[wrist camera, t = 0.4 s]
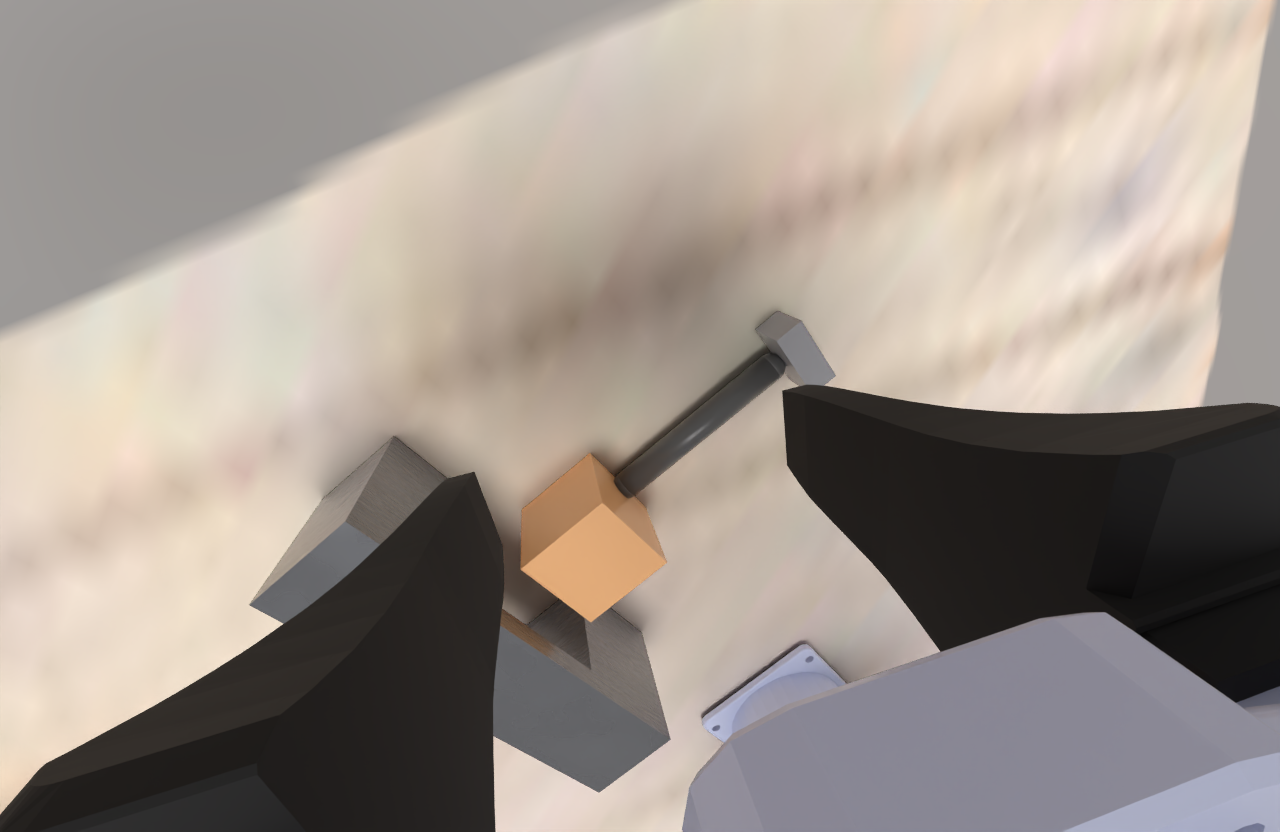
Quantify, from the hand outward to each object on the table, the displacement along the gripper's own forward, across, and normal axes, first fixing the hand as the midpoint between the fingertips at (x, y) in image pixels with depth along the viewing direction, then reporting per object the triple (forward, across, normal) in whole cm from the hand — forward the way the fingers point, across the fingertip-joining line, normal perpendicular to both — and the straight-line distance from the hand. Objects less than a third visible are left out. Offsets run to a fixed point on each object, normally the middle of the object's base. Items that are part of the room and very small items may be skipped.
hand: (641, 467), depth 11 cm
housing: (+10, +6, +9) cm, 15 cm away
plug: (+10, -3, +5) cm, 11 cm away
